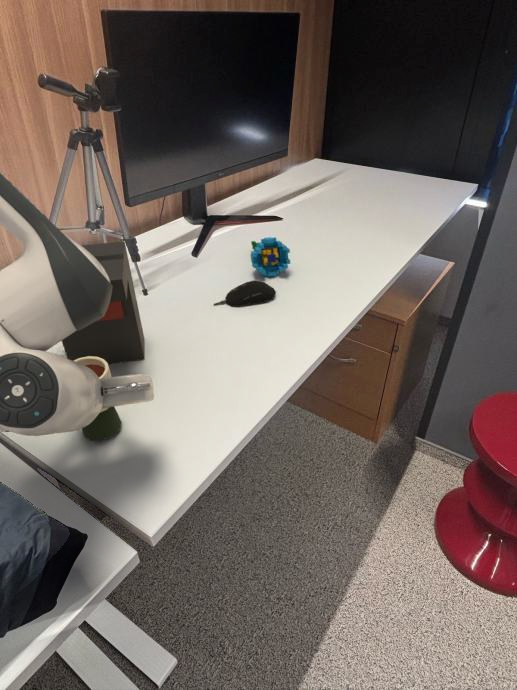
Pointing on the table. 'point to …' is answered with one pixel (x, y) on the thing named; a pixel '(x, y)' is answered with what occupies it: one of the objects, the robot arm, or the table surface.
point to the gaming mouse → (249, 294)
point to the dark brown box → (112, 314)
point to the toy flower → (269, 256)
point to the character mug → (107, 417)
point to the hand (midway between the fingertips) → (89, 399)
